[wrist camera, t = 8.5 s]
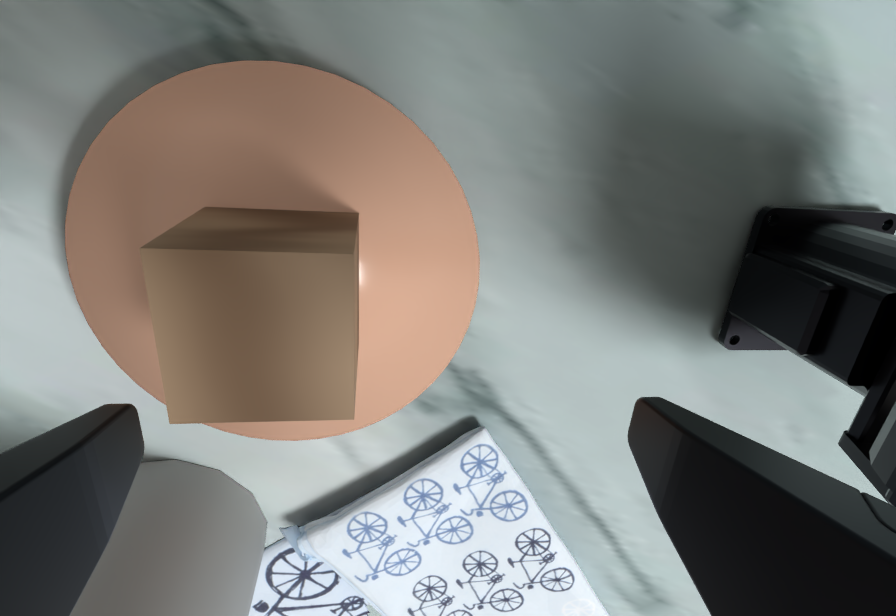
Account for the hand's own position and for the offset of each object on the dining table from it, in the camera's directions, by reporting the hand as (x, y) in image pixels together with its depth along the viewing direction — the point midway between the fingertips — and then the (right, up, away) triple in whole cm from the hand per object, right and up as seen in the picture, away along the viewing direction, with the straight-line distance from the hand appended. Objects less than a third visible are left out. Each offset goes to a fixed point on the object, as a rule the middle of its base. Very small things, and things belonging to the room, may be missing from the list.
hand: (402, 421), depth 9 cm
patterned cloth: (-2, -15, +19) cm, 24 cm away
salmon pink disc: (-5, +4, +10) cm, 12 cm away
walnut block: (-5, +3, +9) cm, 10 cm away
